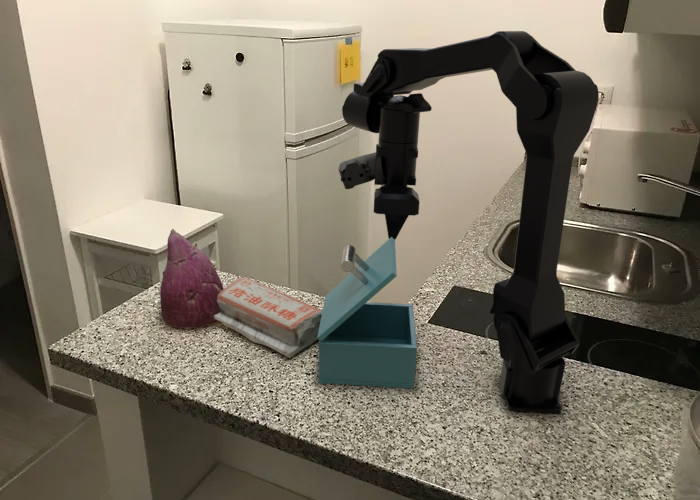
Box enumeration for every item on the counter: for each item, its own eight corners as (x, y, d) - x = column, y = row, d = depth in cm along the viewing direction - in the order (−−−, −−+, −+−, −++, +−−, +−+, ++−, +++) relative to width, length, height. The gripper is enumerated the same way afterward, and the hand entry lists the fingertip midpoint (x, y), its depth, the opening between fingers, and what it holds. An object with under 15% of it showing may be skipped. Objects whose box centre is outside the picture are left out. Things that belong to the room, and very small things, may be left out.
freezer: (410, 341, 86) (413, 304, 84) (413, 388, 76) (417, 348, 73) (326, 336, 87) (326, 299, 84) (318, 383, 76) (318, 342, 74)
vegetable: (155, 333, 92) (116, 247, 87) (206, 300, 99) (171, 219, 94) (193, 340, 85) (152, 248, 80) (244, 305, 92) (210, 217, 87)
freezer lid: (395, 240, 80) (370, 215, 79) (396, 276, 69) (367, 249, 68) (328, 299, 84) (303, 277, 83) (320, 341, 74) (292, 317, 72)
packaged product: (335, 304, 86) (290, 331, 78) (333, 331, 88) (289, 361, 80) (247, 266, 95) (200, 288, 88) (248, 292, 97) (201, 316, 90)
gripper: (346, 124, 94) (344, 216, 100) (338, 152, 76) (336, 261, 83) (416, 127, 93) (409, 219, 99) (423, 156, 76) (414, 264, 82)
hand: (392, 238), depth 91 cm, fingers closed
